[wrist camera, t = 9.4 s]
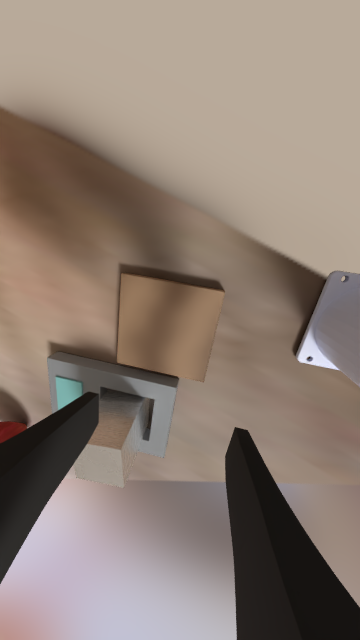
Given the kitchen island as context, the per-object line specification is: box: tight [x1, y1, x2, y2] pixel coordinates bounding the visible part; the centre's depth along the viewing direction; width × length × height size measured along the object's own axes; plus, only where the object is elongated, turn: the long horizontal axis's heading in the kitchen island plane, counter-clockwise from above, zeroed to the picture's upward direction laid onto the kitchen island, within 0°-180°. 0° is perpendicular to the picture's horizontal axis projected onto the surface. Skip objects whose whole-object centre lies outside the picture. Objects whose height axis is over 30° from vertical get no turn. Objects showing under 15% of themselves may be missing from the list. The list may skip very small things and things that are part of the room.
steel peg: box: [74, 389, 149, 488], centre depth 19 cm, size 4×4×7 cm
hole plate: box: [47, 352, 179, 458], centre depth 21 cm, size 14×10×2 cm
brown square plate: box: [117, 273, 225, 382], centre depth 18 cm, size 9×9×1 cm
